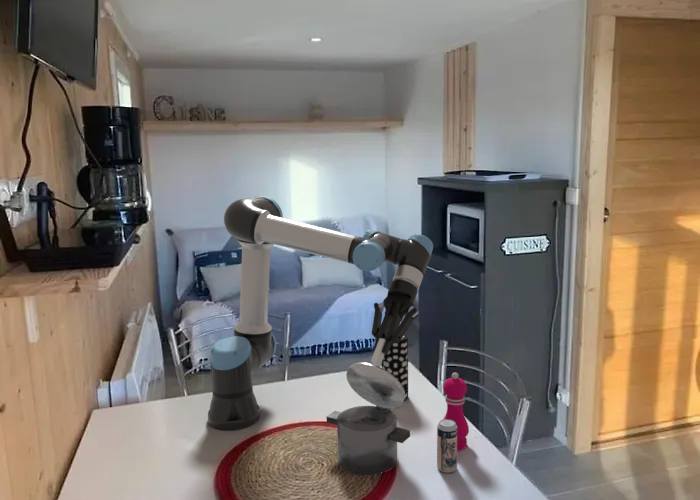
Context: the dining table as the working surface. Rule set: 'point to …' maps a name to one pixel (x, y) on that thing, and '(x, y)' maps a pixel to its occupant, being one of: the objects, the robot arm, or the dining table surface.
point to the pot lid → (375, 385)
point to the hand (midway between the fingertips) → (375, 363)
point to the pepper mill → (456, 407)
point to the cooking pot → (367, 439)
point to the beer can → (447, 446)
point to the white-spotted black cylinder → (398, 362)
